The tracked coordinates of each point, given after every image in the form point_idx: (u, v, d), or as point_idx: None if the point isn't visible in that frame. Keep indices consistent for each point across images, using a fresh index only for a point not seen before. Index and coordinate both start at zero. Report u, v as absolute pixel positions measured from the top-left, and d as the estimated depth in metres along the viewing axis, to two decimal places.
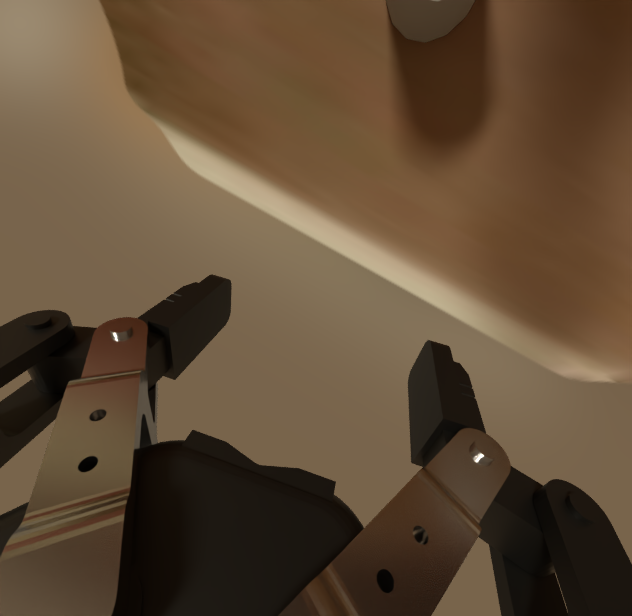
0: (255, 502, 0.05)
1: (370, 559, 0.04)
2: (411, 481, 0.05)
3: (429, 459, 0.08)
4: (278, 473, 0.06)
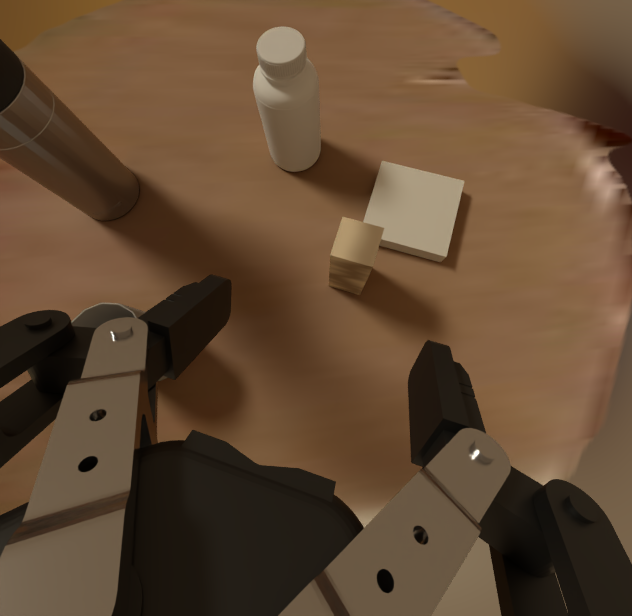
0: (255, 502, 0.05)
1: (370, 559, 0.04)
2: (411, 481, 0.05)
3: (429, 459, 0.08)
4: (279, 473, 0.06)
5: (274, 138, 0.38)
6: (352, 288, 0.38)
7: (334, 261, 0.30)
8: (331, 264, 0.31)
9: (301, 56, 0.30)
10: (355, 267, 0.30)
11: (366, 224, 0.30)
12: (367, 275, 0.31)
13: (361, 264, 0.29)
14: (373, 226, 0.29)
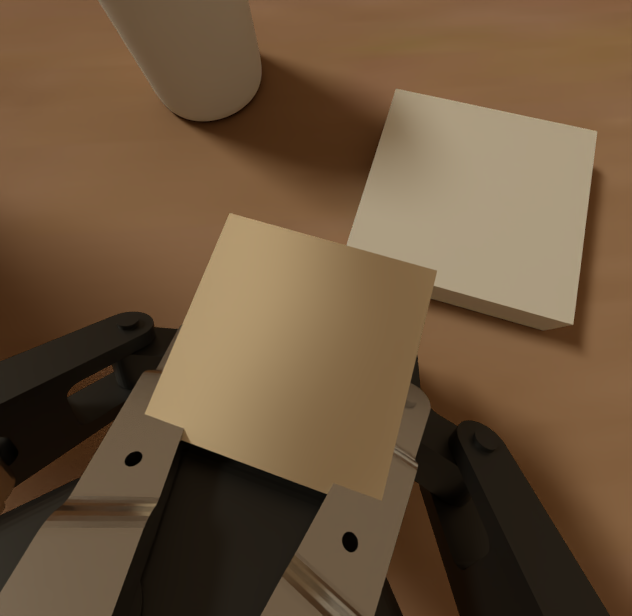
0: (255, 502, 0.05)
1: (370, 559, 0.04)
2: None
3: None
4: None
5: (115, 12, 0.14)
6: None
7: None
8: None
9: None
10: None
11: (344, 252, 0.06)
12: None
13: (314, 484, 0.05)
14: (380, 262, 0.06)
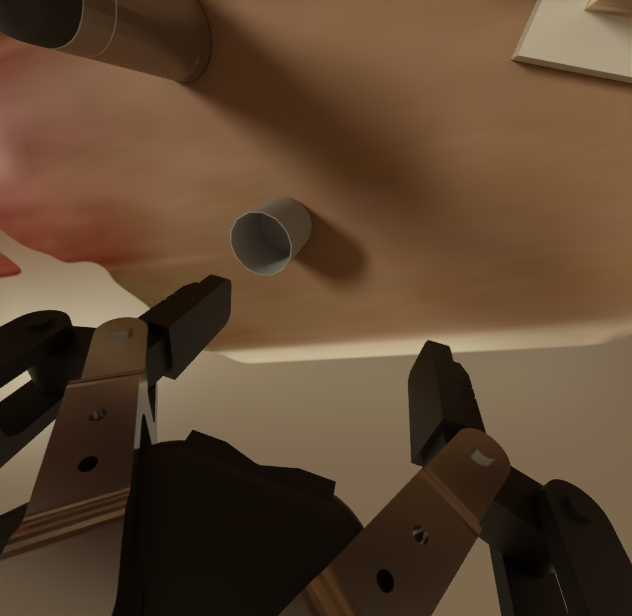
0: (255, 502, 0.05)
1: (370, 559, 0.04)
2: (411, 481, 0.05)
3: (429, 459, 0.08)
4: (278, 474, 0.06)
5: None
6: None
7: None
8: None
9: None
10: None
11: None
12: None
13: None
14: None
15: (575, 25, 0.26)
